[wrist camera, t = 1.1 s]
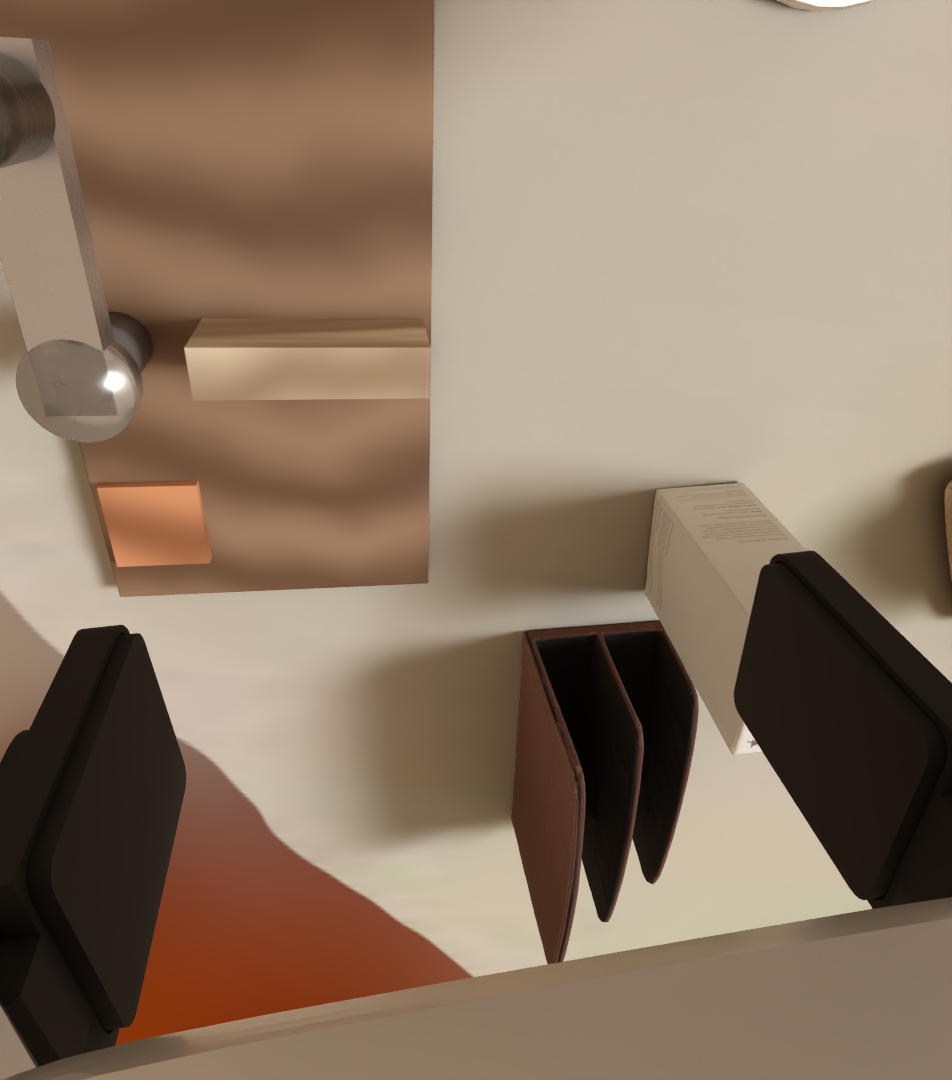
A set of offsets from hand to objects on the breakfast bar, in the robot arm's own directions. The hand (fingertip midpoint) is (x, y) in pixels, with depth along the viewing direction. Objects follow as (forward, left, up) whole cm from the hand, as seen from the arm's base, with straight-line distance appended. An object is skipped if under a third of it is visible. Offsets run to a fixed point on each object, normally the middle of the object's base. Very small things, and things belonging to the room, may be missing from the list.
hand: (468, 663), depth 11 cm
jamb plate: (+4, -7, -30) cm, 31 cm away
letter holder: (+34, +14, -30) cm, 47 cm away
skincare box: (+17, +19, -30) cm, 39 cm away
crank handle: (-1, -13, -24) cm, 27 cm away
